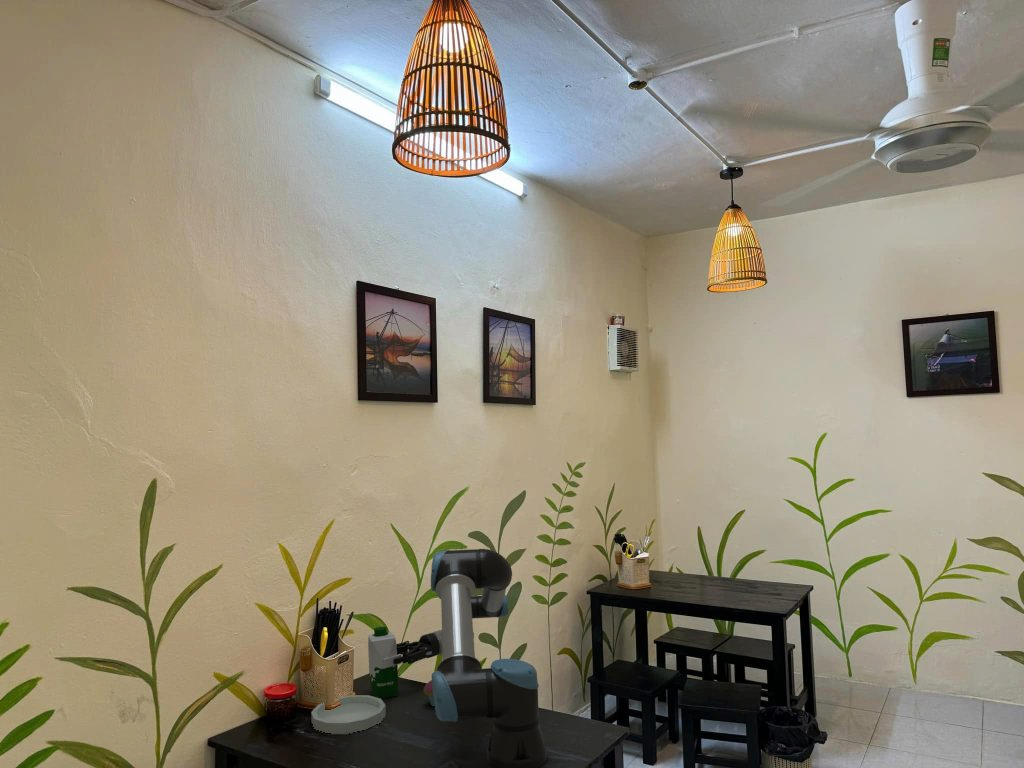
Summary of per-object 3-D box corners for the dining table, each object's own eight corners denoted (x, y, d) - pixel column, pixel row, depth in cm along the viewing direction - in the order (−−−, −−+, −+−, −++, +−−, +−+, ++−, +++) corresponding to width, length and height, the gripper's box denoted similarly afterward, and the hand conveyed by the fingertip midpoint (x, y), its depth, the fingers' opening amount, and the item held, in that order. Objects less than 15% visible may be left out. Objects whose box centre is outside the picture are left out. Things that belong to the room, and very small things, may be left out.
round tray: (399, 714, 209) (398, 703, 209) (345, 740, 192) (345, 728, 192) (352, 700, 221) (351, 690, 221) (297, 724, 204) (297, 713, 204)
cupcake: (457, 701, 217) (456, 661, 218) (440, 711, 210) (439, 670, 210) (435, 697, 221) (434, 657, 222) (418, 706, 214) (417, 666, 215)
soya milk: (396, 687, 230) (392, 624, 232) (400, 696, 222) (397, 631, 223) (368, 692, 228) (365, 628, 229) (372, 701, 219) (369, 635, 221)
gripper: (453, 661, 232) (395, 680, 216) (416, 649, 246) (359, 666, 230) (452, 638, 232) (394, 655, 216) (415, 627, 247) (358, 642, 231)
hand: (376, 661), depth 223 cm, fingers closed on soya milk, 7 cm apart
